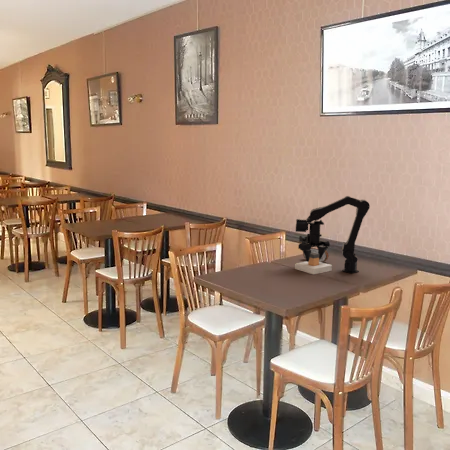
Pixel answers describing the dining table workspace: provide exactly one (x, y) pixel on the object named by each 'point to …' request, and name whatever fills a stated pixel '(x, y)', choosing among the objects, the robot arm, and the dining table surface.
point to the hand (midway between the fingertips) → (313, 260)
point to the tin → (315, 250)
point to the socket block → (313, 267)
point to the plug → (314, 259)
